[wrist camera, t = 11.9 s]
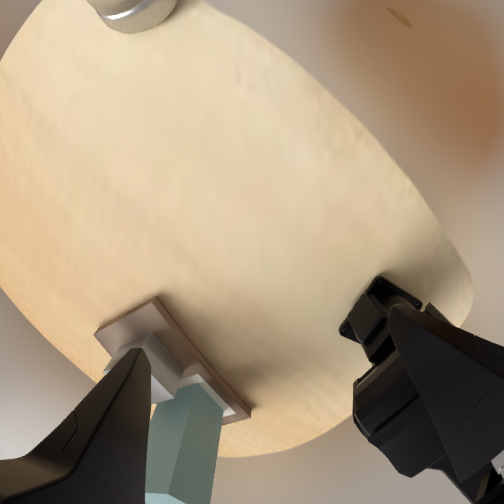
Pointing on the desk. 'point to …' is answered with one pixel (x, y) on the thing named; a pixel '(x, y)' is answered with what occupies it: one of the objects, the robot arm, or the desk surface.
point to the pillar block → (183, 448)
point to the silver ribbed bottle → (132, 13)
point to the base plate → (174, 345)
